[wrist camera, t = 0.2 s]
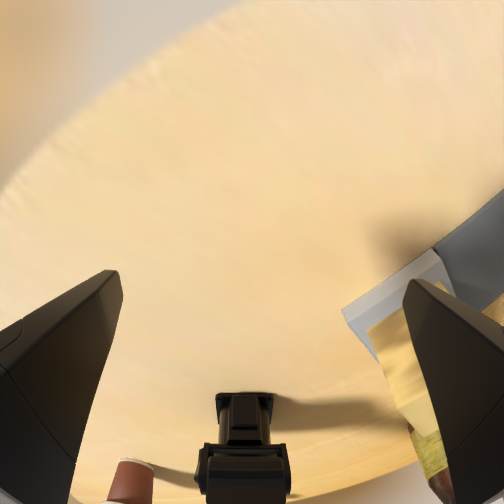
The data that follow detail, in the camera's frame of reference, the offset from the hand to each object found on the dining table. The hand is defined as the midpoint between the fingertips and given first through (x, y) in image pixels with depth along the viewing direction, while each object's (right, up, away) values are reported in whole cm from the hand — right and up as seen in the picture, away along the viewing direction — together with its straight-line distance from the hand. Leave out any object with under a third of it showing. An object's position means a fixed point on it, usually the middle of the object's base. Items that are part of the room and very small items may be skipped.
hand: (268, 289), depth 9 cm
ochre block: (+15, -6, +18) cm, 25 cm away
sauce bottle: (+26, -25, +31) cm, 47 cm away
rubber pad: (+24, +1, +17) cm, 29 cm away
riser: (+15, -5, +20) cm, 26 cm away
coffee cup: (-21, -37, +36) cm, 55 cm away
